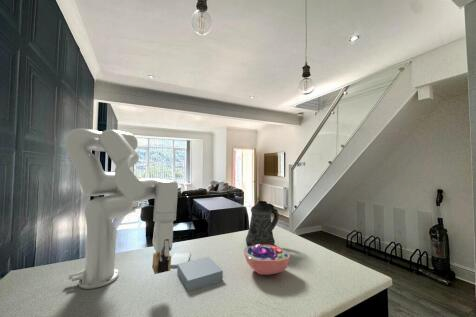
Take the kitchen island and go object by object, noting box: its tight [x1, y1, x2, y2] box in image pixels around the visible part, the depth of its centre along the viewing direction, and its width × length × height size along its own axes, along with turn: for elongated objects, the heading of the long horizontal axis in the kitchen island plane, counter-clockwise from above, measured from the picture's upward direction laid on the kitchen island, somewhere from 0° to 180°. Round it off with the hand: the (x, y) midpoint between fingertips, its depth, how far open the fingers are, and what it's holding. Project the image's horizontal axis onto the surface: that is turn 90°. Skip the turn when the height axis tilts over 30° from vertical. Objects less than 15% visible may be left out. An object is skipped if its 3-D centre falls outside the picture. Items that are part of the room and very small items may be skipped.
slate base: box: [176, 256, 224, 292], centre depth 79 cm, size 14×14×4 cm
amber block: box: [151, 251, 172, 275], centre depth 68 cm, size 5×5×5 cm
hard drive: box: [170, 252, 191, 269], centre depth 91 cm, size 2×8×12 cm
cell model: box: [243, 244, 291, 276], centre depth 83 cm, size 17×20×11 cm
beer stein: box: [245, 200, 280, 247], centre depth 113 cm, size 16×19×25 cm
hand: (161, 267), depth 68 cm, fingers closed on amber block, 5 cm apart
